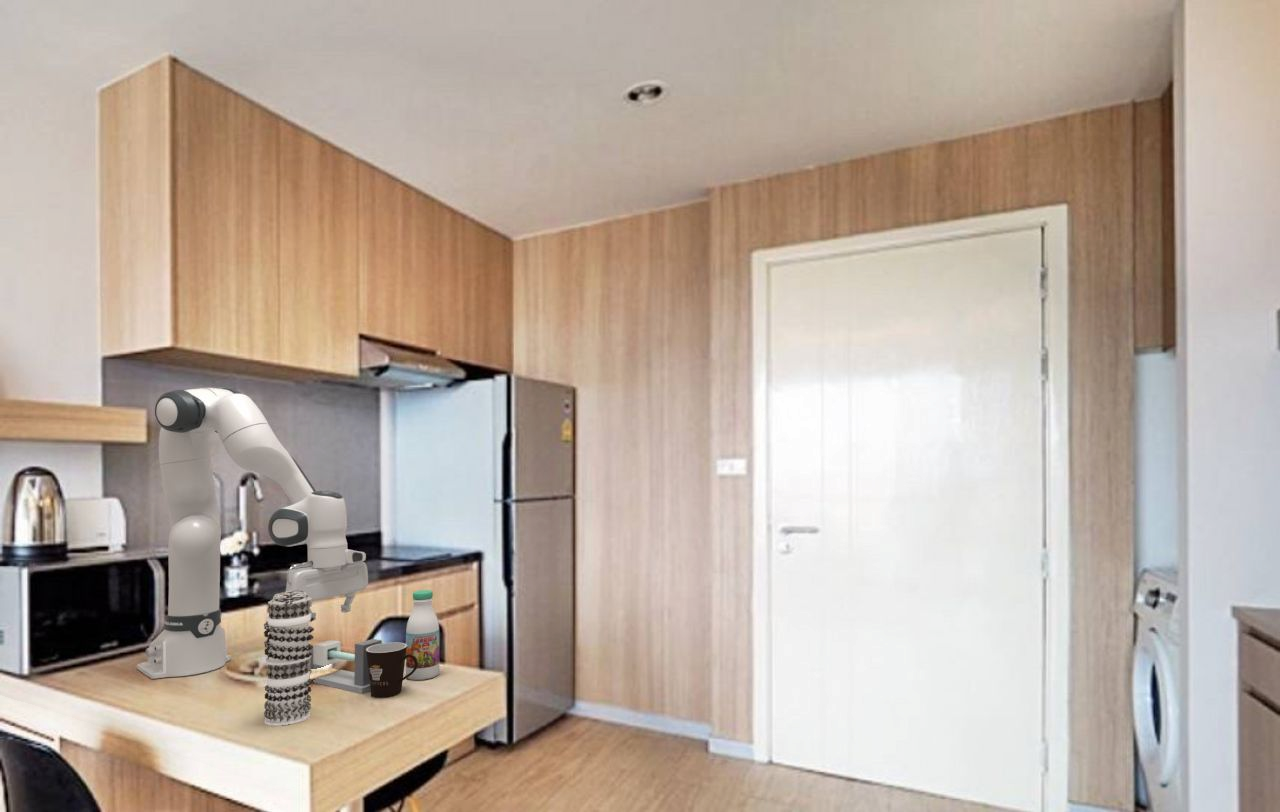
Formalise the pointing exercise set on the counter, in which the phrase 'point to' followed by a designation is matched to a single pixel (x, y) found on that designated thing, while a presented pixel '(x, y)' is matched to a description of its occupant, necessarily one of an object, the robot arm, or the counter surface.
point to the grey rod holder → (348, 679)
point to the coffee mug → (387, 668)
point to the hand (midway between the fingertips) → (328, 616)
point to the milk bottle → (422, 637)
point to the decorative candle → (288, 659)
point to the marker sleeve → (325, 652)
